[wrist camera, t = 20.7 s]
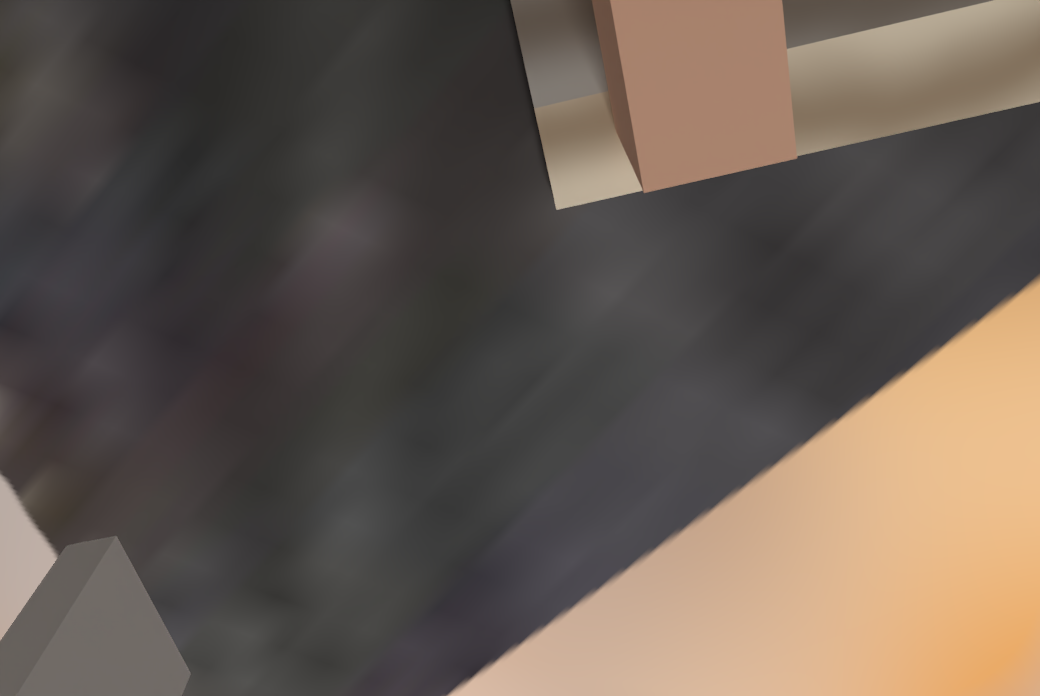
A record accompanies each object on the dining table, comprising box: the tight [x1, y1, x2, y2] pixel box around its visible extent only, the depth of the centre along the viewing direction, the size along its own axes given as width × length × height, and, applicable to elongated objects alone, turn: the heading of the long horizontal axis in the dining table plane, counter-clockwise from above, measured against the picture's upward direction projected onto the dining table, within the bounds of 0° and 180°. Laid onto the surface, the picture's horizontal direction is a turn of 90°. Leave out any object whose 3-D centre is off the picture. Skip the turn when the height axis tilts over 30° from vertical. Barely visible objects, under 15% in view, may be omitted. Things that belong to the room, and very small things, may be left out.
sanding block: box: [592, 0, 797, 193], centre depth 28 cm, size 7×4×8 cm, turn 13°
